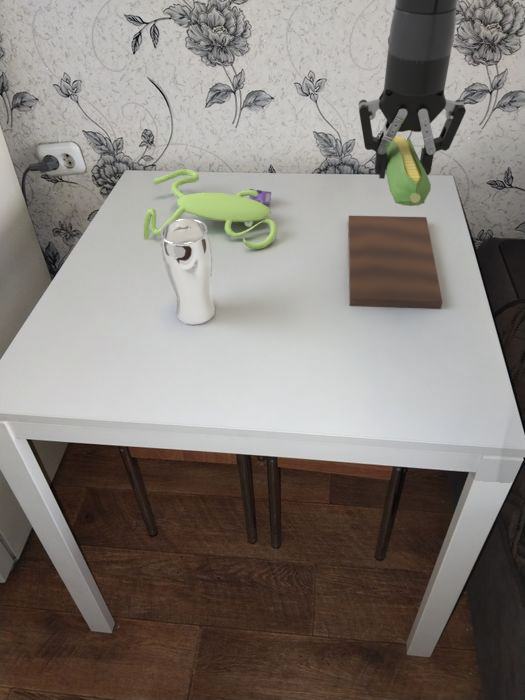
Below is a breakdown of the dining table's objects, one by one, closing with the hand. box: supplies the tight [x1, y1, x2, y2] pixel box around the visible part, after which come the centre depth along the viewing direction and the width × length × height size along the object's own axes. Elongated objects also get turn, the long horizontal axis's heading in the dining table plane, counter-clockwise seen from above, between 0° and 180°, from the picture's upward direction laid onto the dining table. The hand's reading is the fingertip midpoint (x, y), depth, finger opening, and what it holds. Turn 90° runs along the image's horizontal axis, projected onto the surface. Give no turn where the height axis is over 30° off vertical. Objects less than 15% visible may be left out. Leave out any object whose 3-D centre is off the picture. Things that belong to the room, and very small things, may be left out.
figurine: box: [143, 168, 278, 250], centre depth 110 cm, size 18×27×6 cm
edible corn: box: [385, 136, 432, 207], centre depth 82 cm, size 5×20×5 cm, turn 179°
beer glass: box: [160, 217, 216, 326], centre depth 87 cm, size 7×7×15 cm
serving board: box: [347, 215, 443, 310], centre depth 100 cm, size 24×14×2 cm, turn 174°
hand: (401, 175), depth 83 cm, fingers closed on edible corn, 5 cm apart
